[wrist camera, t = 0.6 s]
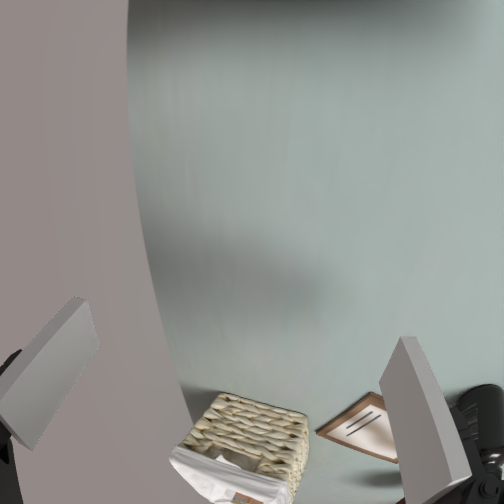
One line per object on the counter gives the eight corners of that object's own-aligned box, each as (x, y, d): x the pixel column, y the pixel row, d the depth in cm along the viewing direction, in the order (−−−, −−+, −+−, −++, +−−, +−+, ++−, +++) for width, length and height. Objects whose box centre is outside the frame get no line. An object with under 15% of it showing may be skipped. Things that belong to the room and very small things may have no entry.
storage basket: (213, 381, 41) (159, 457, 29) (320, 410, 34) (278, 507, 23) (238, 445, 52) (205, 500, 40) (312, 467, 45) (284, 529, 33)
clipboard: (371, 391, 29) (369, 402, 27) (460, 428, 26) (460, 437, 24) (316, 430, 37) (313, 439, 36) (397, 460, 34) (395, 468, 33)
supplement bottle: (457, 420, 25) (448, 504, 16) (451, 393, 24) (444, 490, 15) (504, 405, 21) (506, 491, 12) (505, 375, 20) (513, 473, 11)
